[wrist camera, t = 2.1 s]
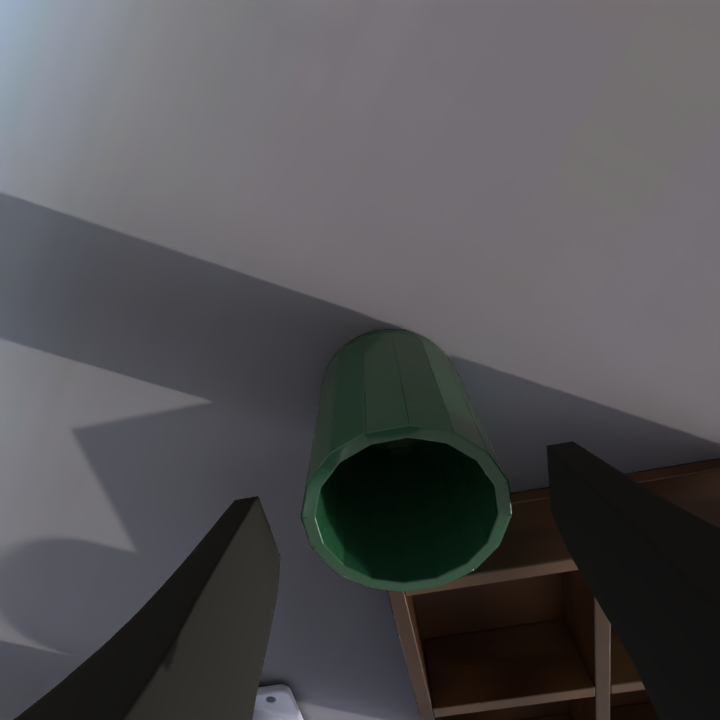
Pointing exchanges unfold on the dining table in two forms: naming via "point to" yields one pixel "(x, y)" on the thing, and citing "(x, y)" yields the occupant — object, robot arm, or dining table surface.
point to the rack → (532, 623)
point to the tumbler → (401, 468)
